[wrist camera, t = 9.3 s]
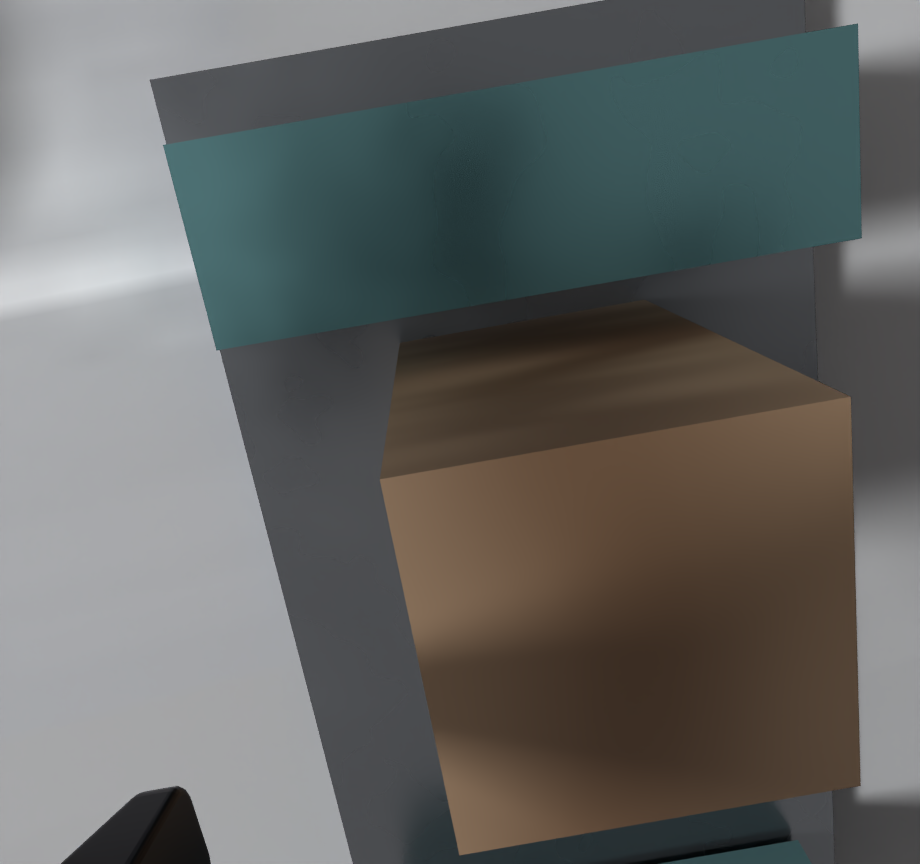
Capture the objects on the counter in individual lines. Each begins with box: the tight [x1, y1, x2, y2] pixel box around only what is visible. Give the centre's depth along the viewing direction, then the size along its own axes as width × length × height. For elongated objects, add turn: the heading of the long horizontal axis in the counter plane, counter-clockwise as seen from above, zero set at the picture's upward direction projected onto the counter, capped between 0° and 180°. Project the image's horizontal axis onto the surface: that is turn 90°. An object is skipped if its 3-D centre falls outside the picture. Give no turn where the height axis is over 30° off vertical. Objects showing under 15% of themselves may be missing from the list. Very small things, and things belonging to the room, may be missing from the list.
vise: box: [150, 0, 862, 864], centre depth 17 cm, size 24×12×5 cm, turn 9°
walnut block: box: [380, 300, 861, 855], centre depth 13 cm, size 5×5×8 cm
